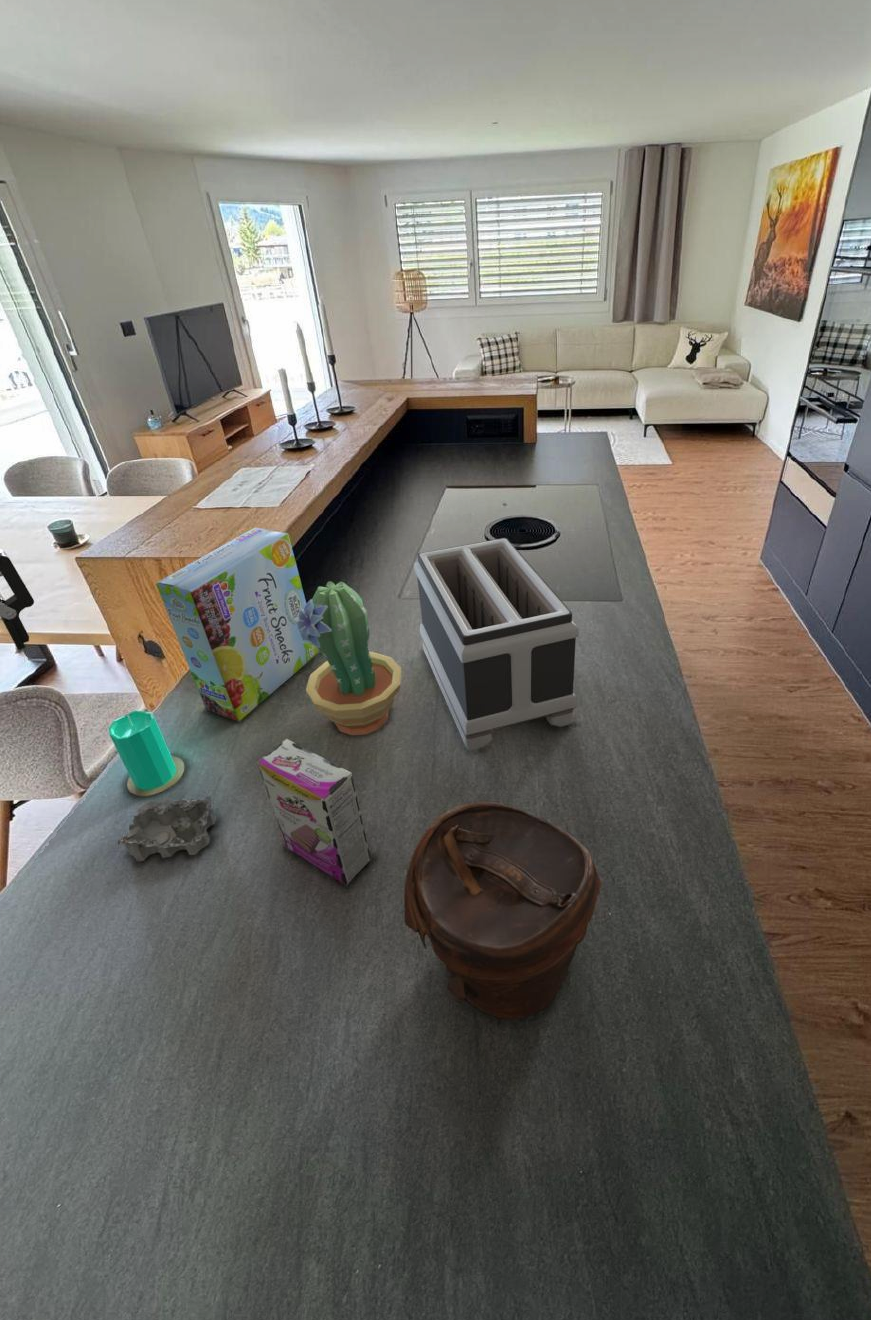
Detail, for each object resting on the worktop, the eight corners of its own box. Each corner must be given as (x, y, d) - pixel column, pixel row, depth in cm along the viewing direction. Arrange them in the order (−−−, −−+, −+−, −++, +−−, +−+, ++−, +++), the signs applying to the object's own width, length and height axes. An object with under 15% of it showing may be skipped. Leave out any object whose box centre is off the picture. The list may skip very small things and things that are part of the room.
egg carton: (123, 864, 81) (111, 844, 78) (146, 818, 87) (135, 798, 85) (205, 857, 81) (196, 837, 79) (222, 811, 87) (214, 791, 85)
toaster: (504, 620, 127) (501, 525, 115) (576, 726, 99) (582, 616, 88) (417, 638, 122) (405, 542, 111) (467, 755, 95) (458, 643, 83)
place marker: (116, 796, 91) (116, 795, 90) (143, 756, 97) (143, 755, 97) (169, 796, 90) (169, 795, 90) (193, 756, 97) (192, 755, 97)
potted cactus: (311, 699, 108) (279, 573, 94) (398, 679, 111) (379, 555, 98) (319, 759, 95) (284, 624, 82) (416, 735, 99) (399, 601, 85)
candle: (183, 773, 94) (157, 713, 87) (143, 796, 90) (113, 736, 84) (166, 754, 97) (140, 695, 91) (127, 776, 94) (97, 716, 87)
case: (423, 883, 77) (407, 782, 67) (585, 884, 76) (593, 781, 66) (402, 1044, 62) (379, 944, 52) (604, 1047, 61) (618, 946, 51)
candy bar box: (284, 850, 81) (254, 761, 73) (311, 823, 85) (286, 735, 76) (346, 890, 76) (322, 799, 67) (373, 859, 80) (353, 769, 71)
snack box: (286, 644, 122) (255, 524, 109) (321, 654, 119) (293, 532, 105) (201, 710, 106) (151, 580, 92) (238, 724, 103) (193, 590, 89)
